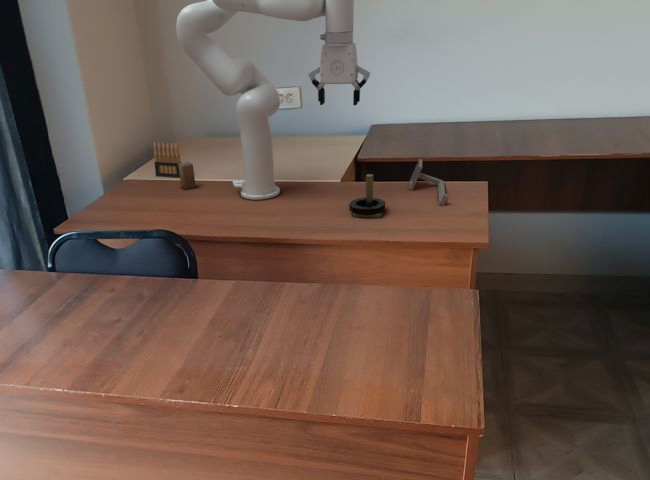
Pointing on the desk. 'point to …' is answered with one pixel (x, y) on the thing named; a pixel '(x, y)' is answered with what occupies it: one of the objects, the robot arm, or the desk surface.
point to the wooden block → (186, 175)
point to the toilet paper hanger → (422, 176)
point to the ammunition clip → (167, 160)
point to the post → (369, 197)
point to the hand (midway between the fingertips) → (338, 104)
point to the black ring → (357, 209)
